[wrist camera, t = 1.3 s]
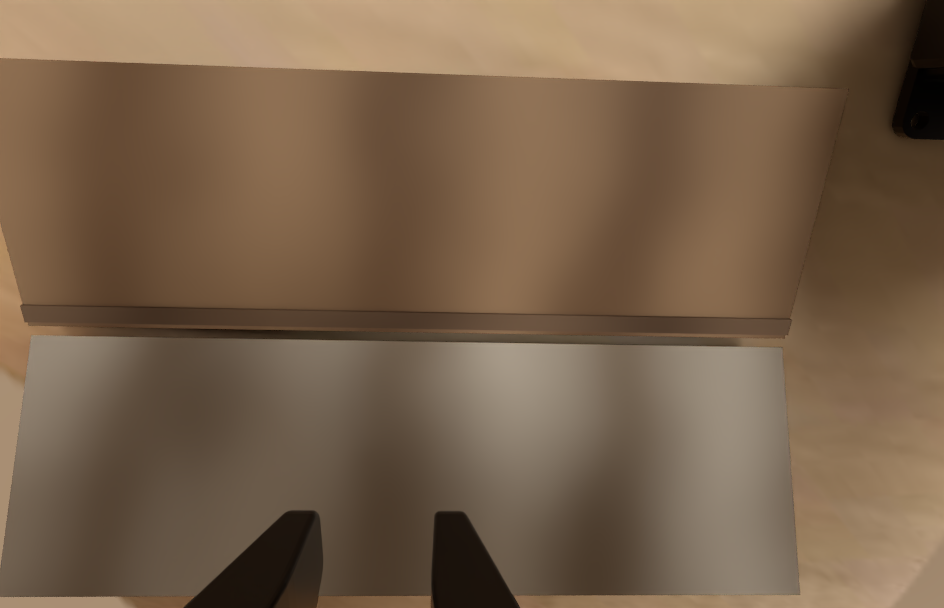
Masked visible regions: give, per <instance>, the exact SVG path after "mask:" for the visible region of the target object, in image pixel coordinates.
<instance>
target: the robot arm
mask: <svg viewBox="0 0 944 608" xmlns="http://www.w3.org/2000/svg"><path fill="white" fill-rule="evenodd" d="M915 114H918V121H917V123H916V125H915V126H913V127H912V126H911V120H912V118H913V116H914V115H915ZM892 127H893V130H894V133H895V134H897V135H898V136H900V137H903V138H911V139H933V140H944V0H927V2H926V5H925V9H924V12H923V16H922V19H921V22H920V26H919V29H918V33H917V36H916V40H915V43H914V47H913V50H912V54H911V59H910V62H909V66H908V69H907V72H906V76H905V79H904V83H903V86H902V90H901V93H900V97H899V100H898V103H897V107H896V110H895V114H894V117H893V123H892ZM322 572H323V547H322V535H321V523H320V516H319V514H318V512H316V511H315V510H290V511H287V512H285V513H284V514H283V515H282V516H280V517H279V518H278V519H277V520H276V521H275V522H274V523H273V524H272V525H271V526H270V527H269V528H268V529H267V530H266V531H264V532H263V533H262V534H261V535H260V536H259V537H258V538H257V539H256V540H255V541H254V542H253V543H252V544H251V545H250V546H249V547H247V548H246V549H245V550H244V551H243V552H242V553H241V554H240V555H239V556H238V557H237V558H236V559H235V560H234V561H233V562H231V563H230V564H229V565H228V566H227V567H226V568H225V569H224V570H223V571H222V572H221V573H220V574H219V575H218V576H217V577H216V578H214V579H213V580H212V581H211V582H210V583H209V584H208V585H207V586H206V587H205V588H204V589H203V590H202V591H201V592H200V593H199V594H197V595H196V596H195V597H194V598H193V599H192V600H191V601H190V602H189V603H188V604H187V605H186V606H185V607H184V608H316V607H317V601H318V595H319V590H320V584H321V579H322ZM431 608H520V607H519V605H518V603H517V601H516V600H515V598H514V596H513V594H512V593H511V591H510V589H509V587H508V586H507V584H506V582H505V580H504V579H503V577H502V575H501V573H500V572H499V570H498V568H497V566H496V565H495V563H494V561H493V559H492V558H491V556H490V554H489V552H488V551H487V549H486V547H485V545H484V544H483V542H482V540H481V538H480V537H479V535H478V533H477V531H476V530H475V528H474V526H473V524H472V523H471V521H470V519H469V517H468V516H467V514H466V513H465V512H463V511H437V512H436V513H435V515H434V528H433V547H432V565H431Z"/></svg>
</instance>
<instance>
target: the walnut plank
mask: <svg viewBox="0 0 944 608" xmlns="http://www.w3.org/2000/svg"><path fill="white" fill-rule="evenodd" d="M848 91H849V89H838V88H810V87H782V86H755V85H727V84H699V83H671V82H644V81H616V80H588V79H561V78H533V77H505V76H477V75H450V74H422V73H394V72H366V71H339V70H311V69H283V68H256V67H228V66H200V65H172V64H145V63H117V62H89V61H62V60H34V59H6V58H0V223H1V227H2V231H3V234H4V238H5V242H6V245H7V249H8V252H9V256H10V260H11V263H12V267H13V271H14V274H15V278H16V281H17V285H18V289H19V292H20V296H21V300H22V303H23V305H21V306H20V307H21V310H22V314H23V317H24V321H25V322H28V325H29V326H78V327H137V328H196V329H255V330H314V331H373V332H432V333H491V334H550V335H609V336H668V337H728V338H785V335H788V332H789V329H790V325H791V321H792V320H791V319H790V316H791V312H792V308H793V304H794V301H795V297H796V293H797V289H798V285H799V281H800V277H801V273H802V270H803V266H804V262H805V258H806V254H807V250H808V246H809V242H810V239H811V235H812V231H813V227H814V223H815V219H816V215H817V211H818V208H819V204H820V200H821V196H822V192H823V188H824V184H825V180H826V177H827V173H828V169H829V165H830V161H831V157H832V153H833V149H834V145H835V142H836V138H837V134H838V130H839V126H840V122H841V118H842V114H843V111H844V107H845V103H846V99H847V95H848Z"/></svg>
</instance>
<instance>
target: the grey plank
mask: <svg viewBox="0 0 944 608" xmlns="http://www.w3.org/2000/svg"><path fill="white" fill-rule="evenodd" d="M290 510H315V511H316V512H318V514H319V516H320V523H321V535H322V547H323V572H322V579H321V584H320V590H319V595H318V596H431V565H432V547H433V528H434V515H435V513H436V512H437V511H463V512H465V513H466V514H467V516H468V517H469V519H470V521H471V523H472V524H473V526H474V528H475V530H476V531H477V533H478V535H479V537H480V538H481V540H482V542H483V544H484V545H485V547H486V549H487V551H488V552H489V554H490V556H491V558H492V559H493V561H494V563H495V565H496V566H497V568H498V570H499V572H500V573H501V575H502V577H503V579H504V580H505V582H506V584H507V586H508V587H509V589H510V591H511V593H512V594H513V595H800V586H799V572H798V558H797V544H796V530H795V516H794V502H793V488H792V475H791V461H790V447H789V433H788V419H787V405H786V391H785V377H784V363H783V349H782V347H721V346H659V345H598V344H536V343H475V342H413V341H352V340H290V339H228V338H167V337H105V336H44V335H31V342H30V349H29V357H28V364H27V372H26V379H25V387H24V395H23V402H22V410H21V417H20V425H19V433H18V440H17V447H16V455H15V462H14V470H13V478H12V485H11V492H10V500H9V508H8V515H7V523H6V530H5V538H4V545H3V553H2V560H1V568H0V597H66V596H67V597H69V596H70V597H85V596H86V597H87V596H88V597H90V596H91V597H93V596H94V597H96V596H196V595H197V594H199V593H200V592H201V591H202V590H203V589H204V588H205V587H206V586H207V585H208V584H209V583H210V582H211V581H212V580H213V579H214V578H216V577H217V576H218V575H219V574H220V573H221V572H222V571H223V570H224V569H225V568H226V567H227V566H228V565H229V564H230V563H231V562H233V561H234V560H235V559H236V558H237V557H238V556H239V555H240V554H241V553H242V552H243V551H244V550H245V549H246V548H247V547H249V546H250V545H251V544H252V543H253V542H254V541H255V540H256V539H257V538H258V537H259V536H260V535H261V534H262V533H263V532H264V531H266V530H267V529H268V528H269V527H270V526H271V525H272V524H273V523H274V522H275V521H276V520H277V519H278V518H279V517H280V516H282V515H283V514H284V513H285V512H287V511H290Z"/></svg>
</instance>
